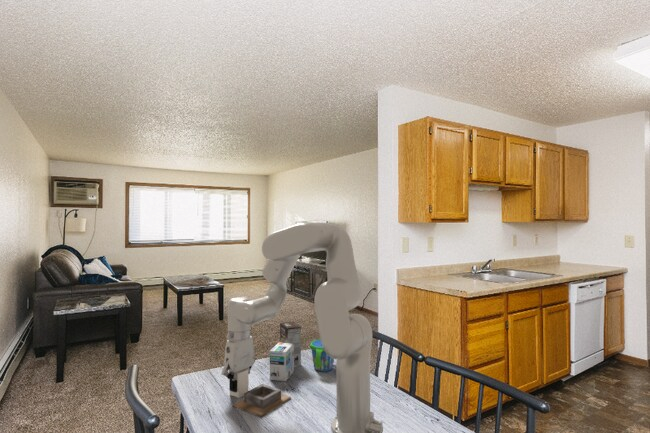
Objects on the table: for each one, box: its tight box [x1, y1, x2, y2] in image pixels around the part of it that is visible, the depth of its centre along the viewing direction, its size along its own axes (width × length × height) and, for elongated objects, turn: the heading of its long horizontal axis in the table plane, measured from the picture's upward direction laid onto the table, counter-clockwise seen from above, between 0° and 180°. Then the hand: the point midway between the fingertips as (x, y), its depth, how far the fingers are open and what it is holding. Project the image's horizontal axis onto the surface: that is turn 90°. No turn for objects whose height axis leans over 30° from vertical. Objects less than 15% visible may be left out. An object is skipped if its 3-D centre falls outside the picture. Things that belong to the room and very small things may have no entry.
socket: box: [233, 383, 292, 418], centre depth 117 cm, size 12×14×3 cm
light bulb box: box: [269, 342, 295, 382], centre depth 139 cm, size 11×7×11 cm, turn 168°
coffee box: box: [279, 321, 302, 368], centre depth 151 cm, size 9×6×16 cm
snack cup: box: [309, 338, 335, 373], centre depth 145 cm, size 16×10×10 cm
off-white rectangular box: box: [229, 368, 249, 399], centre depth 124 cm, size 4×4×8 cm
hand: (239, 387), depth 123 cm, fingers closed on off-white rectangular box, 4 cm apart
